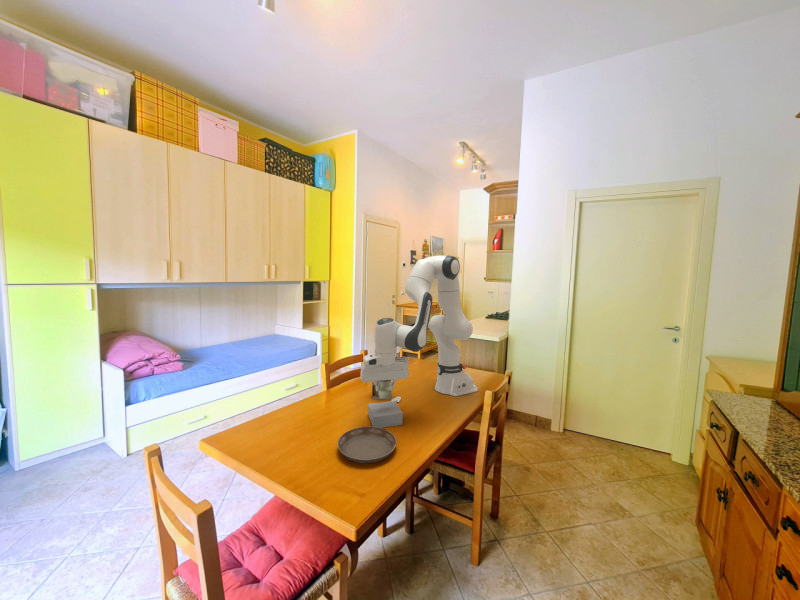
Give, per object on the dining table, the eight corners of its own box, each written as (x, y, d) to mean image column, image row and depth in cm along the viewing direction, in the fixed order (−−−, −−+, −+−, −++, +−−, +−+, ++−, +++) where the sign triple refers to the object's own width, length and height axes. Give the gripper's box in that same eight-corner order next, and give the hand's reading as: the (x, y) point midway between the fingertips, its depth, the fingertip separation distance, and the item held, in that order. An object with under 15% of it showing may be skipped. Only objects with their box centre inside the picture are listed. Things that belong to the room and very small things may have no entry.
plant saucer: (402, 438, 119) (402, 429, 118) (387, 473, 99) (387, 463, 98) (351, 431, 123) (351, 423, 123) (327, 463, 103) (327, 453, 103)
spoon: (403, 400, 152) (403, 397, 152) (377, 417, 135) (377, 413, 135) (396, 398, 154) (396, 395, 154) (369, 414, 137) (369, 411, 137)
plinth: (394, 411, 139) (394, 400, 139) (402, 424, 128) (402, 413, 127) (368, 414, 136) (368, 403, 136) (373, 428, 125) (373, 416, 124)
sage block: (388, 393, 133) (388, 377, 133) (391, 397, 129) (391, 381, 128) (378, 394, 132) (378, 378, 132) (380, 398, 128) (380, 382, 127)
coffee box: (391, 394, 158) (392, 363, 156) (390, 400, 151) (390, 367, 150) (374, 393, 159) (374, 362, 157) (371, 399, 152) (371, 367, 151)
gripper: (406, 354, 135) (406, 384, 136) (359, 357, 129) (359, 389, 131) (411, 358, 129) (410, 390, 130) (362, 361, 123) (362, 395, 125)
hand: (384, 389), depth 130 cm, fingers closed on sage block, 4 cm apart
